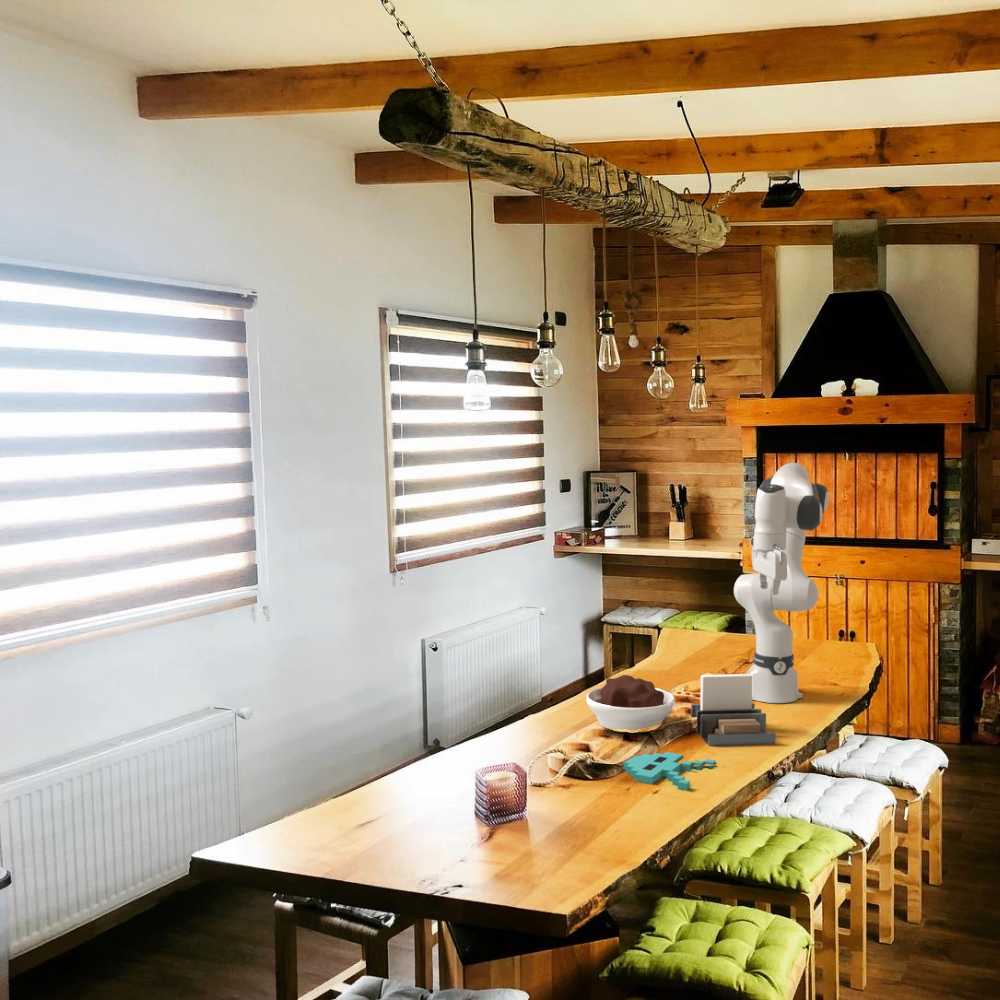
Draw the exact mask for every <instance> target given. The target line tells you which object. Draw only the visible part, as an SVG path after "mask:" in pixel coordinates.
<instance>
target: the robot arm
mask: <svg viewBox="0 0 1000 1000" xmlns="http://www.w3.org/2000/svg"><path fill="white" fill-rule="evenodd" d="M829 503H830V495H829V490H828V488H827V486H826V485H823V484H821V483H818V482H815V483H813V482H811V481H810V476H809V471H808V470H807V469H806V468H805V466H804V465H802V464H801V463H797V462H790V463H789V462H788V463H786V464H784V465H782V466H781V467H780V468H778V469H777V471H776V472H775V473H774V474H773V475H772V476H771V477H770V478H769V477H768V478H766V479H765V480H763V481H762V482H761V484H760V486H759V487H758V488H757V491H756V496H755V502H754V504H753V515H752V516H753V520H754V521H755V526H754V531H753V532H754V534H753V536H752V537H750V540H749V544H750V546H751V564H752V565H751V566H752V569H753V570H754V571H755V572H754V573H753V572H752V573H746V574H740V575H739V576H738V578H737V579H736V581H735V583H734V586H733V596H734V597H735V600H736V602H737V603H738V604H739V605H740V606H741V607H742V608H744V609H745V610H746V612H747V613H748V614H749V616H750V618H751V620H752V622H753V626H754V629H755V630H754V631H755V643H756V644H755V649H756V650H755V652H754V655H753V662H752V663H753V664H752V665H751V666H750V667H749V668H748V670H747V671H746V674H750V675H752V701H757V702H763V703H768V704H786V703H787V704H789V703H792V702H793V703H794V702H795V701H797V700H798V699H802V698H804V697H803V695H804V693H802V692H800V691H799V675H798V674H799V672H798V671H797V669H795V667H793V666H794V662H795V658H794V654H793V645H794V644H793V639H794V637H793V636H794V635H793V634H794V632H793V630H792V628H791V626H790V625H789V624H787V623H786V622H785V621H783V620H781V619H779V618H778V616H777V615H776V613H775V611H785V612H803V611H811V610H812V609H813V608H814V607H815V606H816V604H817V602H818V599H819V589H818V586H817V584H816V583H815V582H814V580H813V579H811V578H810V577H809V576H808V575H807V574H806V573H805V571H804V570H803V567H802V561H803V553H804V552H803V551H804V547H805V544H806V535H807V533H806V531H810V532H811V531H813V530H815V529H817V528H818V527H819V526H820V524H821V523H822V520H823V515H824V513H825V512H826V510H827V508H828V506H829Z"/></svg>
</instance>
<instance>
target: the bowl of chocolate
mask: <svg viewBox="0 0 1000 1000" xmlns="http://www.w3.org/2000/svg"><path fill="white" fill-rule="evenodd" d="M585 700H586V702H585V703H587V706H588V708H589V710H591V712H592V713H593V714H594V715H595V717H596V721H597V722H598V724H599V726H601V727H602V726H604V727H606V728H609V729H627V730H638V729H643V728H647V727H652V726H654V725H657V724H660V723H661V722H662V721H663V720H664V721H665V719H666V717H667V716H668V715H669V714H670V713H671V712H672V711H673V709H674V707H675V704H676V699H675V696H674V695H673V694H672V693H670V692H668V691H667V690H663V689H660V688H657V687H655V685H654V683H653V682H652V681H649V680H645V679H643V678H640V677H637V678H635V677H633V676H631V675H628V674H623V675H620V676H617V677H615V678H607V679H605V685H604V686H602V687H598V688H595V689H592V690H591V691H589V692H588V693H587V695H586V697H585ZM664 721H663V722H664ZM604 727H603V728H604ZM606 728H605V729H606Z"/></svg>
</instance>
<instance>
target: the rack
mask: <svg viewBox="0 0 1000 1000" xmlns="http://www.w3.org/2000/svg"><path fill="white" fill-rule="evenodd" d="M755 706H756V704H755V703H754V702H752V709H730V710H700V703H698V704H697V703H695V704H693V703H692V704H691V705H690V708H691V709H690V713H691V714H690V718H691V717H697V726H696V728H695V729H694V730H695V732H696V733H697V734H698V736H699V737H701V739H702V740H703V741H704V742H705V743H706V744H707V747H708V746H709V747H723V746H724V747H725V746H727V747H728V746H729V747H730V746H762V745H764V746H765V745H767V746H768V745H775V744H776V732H775V731H769V732H768V731H767V713H765V712H762V709H761V708H755ZM723 719H755V720H756V721H757V722H759V723H760V733H719V734H715V729H718V724H719V720H723Z"/></svg>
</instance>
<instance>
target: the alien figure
mask: <svg viewBox="0 0 1000 1000" xmlns="http://www.w3.org/2000/svg"><path fill="white" fill-rule="evenodd" d="M683 756H684V755H683V754H681V753H677V752H676V753H675V752H670V751H665V752H664V753H660V752H659V753H658V752H654V753H652V754H647V753H642V754H641V755H637V756H635V757H633V758H631V759H630V760H628V761H626V762H624V766H623V769H622V770H625V773H626V774H630V775H629V776H630V777H631V778H634V781H635V782H638V783H644V784H649V785H653V784H654V783H656V782H657V781H659V779H661V778H662V777H664V778H667V779H666V780H667V781H669V782H672V783H671V784H672V785H673V786H677V790H681V791H684V790H687V791H688V790H689V789H691V781H690V780H686V779H685V776H682V775H680V771H683V772H691V771H692V770H696V771H703V770H704V769H706V768H707V769H708V770H712V769H713V768H714V767H715V768H716V765H714V764H715V763H716V760H715V759H709V758H706V759H705V760H698V759H695V760H694V761H692V762H691V761H688V760H684V761H682V762H678V760H680V759H681V758H683ZM704 764H705V765H704ZM715 768H714V769H715ZM714 769H713V770H714Z"/></svg>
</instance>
